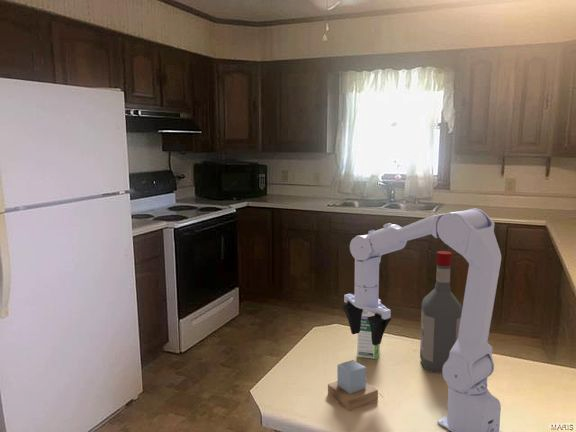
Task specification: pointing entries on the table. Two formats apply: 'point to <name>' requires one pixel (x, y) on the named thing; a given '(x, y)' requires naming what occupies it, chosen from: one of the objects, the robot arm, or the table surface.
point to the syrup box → (366, 338)
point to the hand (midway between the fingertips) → (365, 338)
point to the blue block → (351, 376)
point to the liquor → (439, 318)
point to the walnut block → (353, 396)
